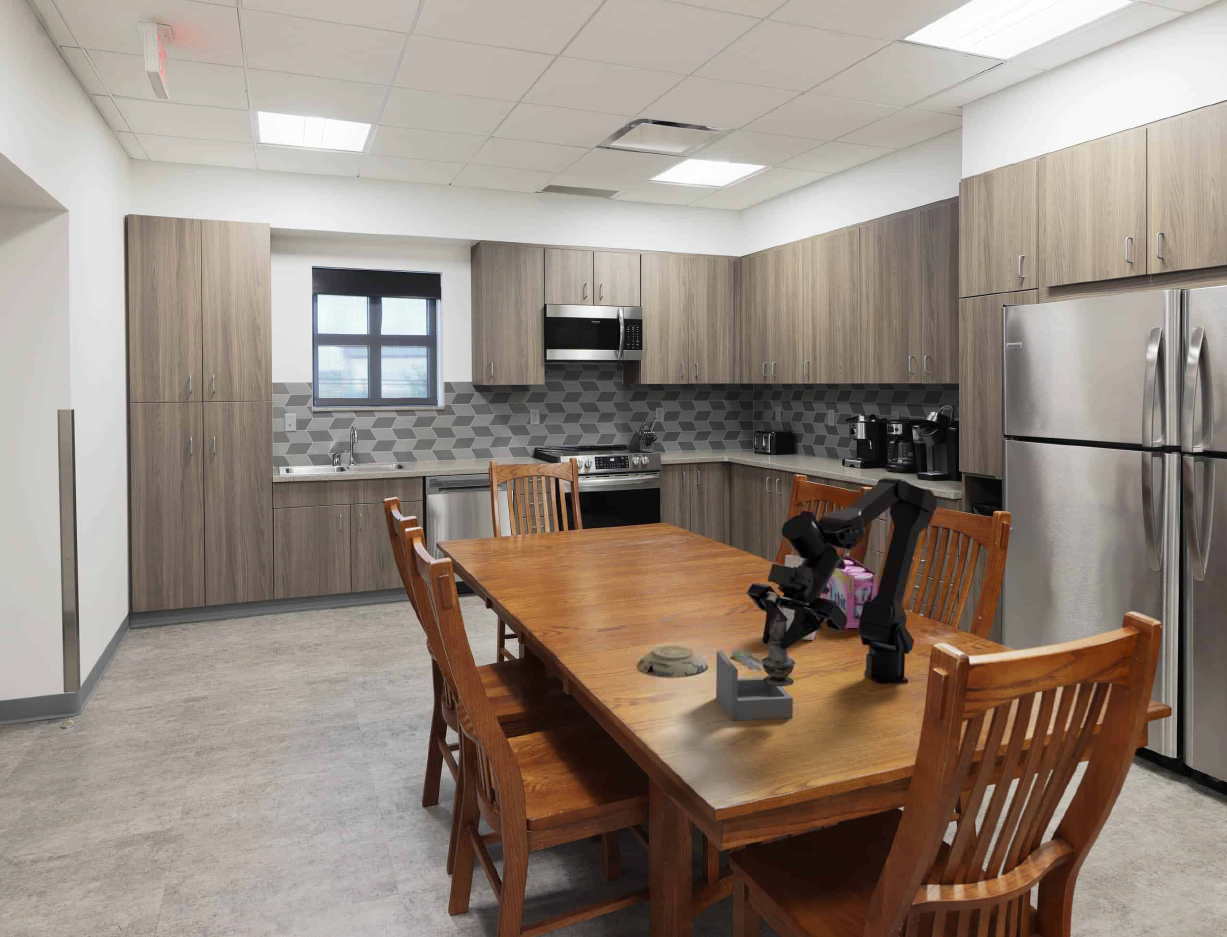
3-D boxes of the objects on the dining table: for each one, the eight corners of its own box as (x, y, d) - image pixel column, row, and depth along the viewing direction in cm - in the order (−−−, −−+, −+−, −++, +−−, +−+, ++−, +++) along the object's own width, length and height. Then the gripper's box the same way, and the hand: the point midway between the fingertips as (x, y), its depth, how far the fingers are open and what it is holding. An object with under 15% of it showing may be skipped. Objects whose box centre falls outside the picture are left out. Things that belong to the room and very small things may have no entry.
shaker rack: (773, 695, 156) (773, 648, 155) (792, 717, 145) (793, 667, 144) (716, 697, 155) (716, 651, 154) (731, 720, 144) (732, 670, 143)
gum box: (879, 631, 199) (880, 575, 198) (846, 631, 199) (847, 575, 198) (850, 606, 223) (851, 556, 222) (821, 606, 223) (822, 556, 222)
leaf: (801, 691, 162) (801, 686, 162) (765, 692, 160) (765, 687, 160) (762, 654, 181) (762, 650, 181) (729, 655, 180) (730, 651, 180)
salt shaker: (800, 686, 142) (800, 617, 141) (767, 688, 141) (766, 619, 140) (789, 675, 147) (789, 609, 147) (757, 676, 147) (756, 610, 146)
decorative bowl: (718, 663, 177) (653, 652, 183) (718, 646, 176) (654, 636, 183) (693, 685, 163) (625, 673, 170) (694, 667, 163) (625, 656, 170)
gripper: (753, 539, 152) (711, 608, 146) (838, 554, 137) (794, 631, 132) (781, 575, 157) (741, 643, 152) (865, 593, 143) (824, 669, 137)
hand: (772, 645), depth 143 cm, fingers closed on salt shaker, 4 cm apart
